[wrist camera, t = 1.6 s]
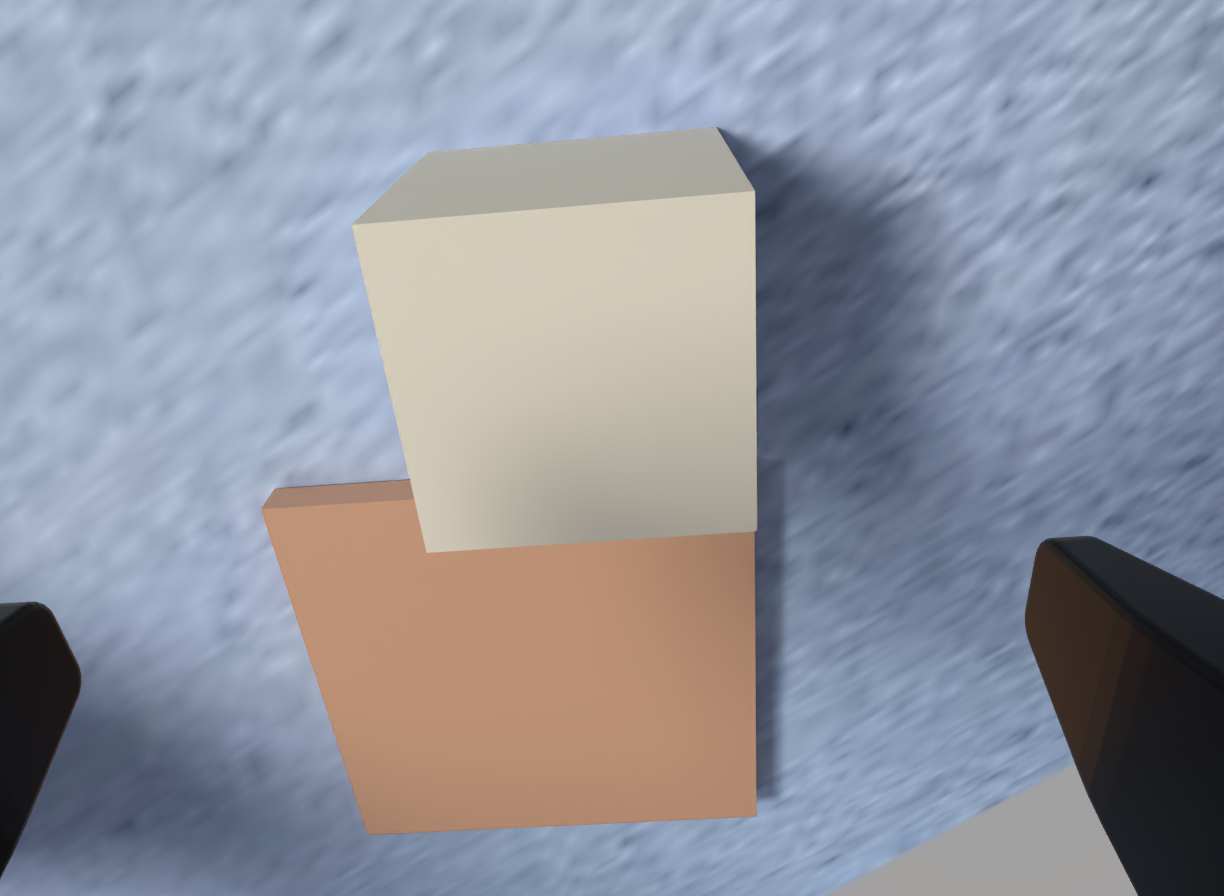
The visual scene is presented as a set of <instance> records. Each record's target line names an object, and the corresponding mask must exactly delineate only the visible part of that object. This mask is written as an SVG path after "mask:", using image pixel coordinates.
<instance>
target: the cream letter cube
mask: <svg viewBox="0 0 1224 896" xmlns="http://www.w3.org/2000/svg"><path fill="white" fill-rule="evenodd" d="M352 229H353V233H354V238H355V242H356V246H357V251H358V255H359V259H360V264H361V268H362V273H363V277H364V281H365V286H366V290H367V294H368V299H369V303H370V308H371V312H372V316H373V321H374V325H375V329H376V334H377V338H378V343H379V347H380V351H381V356H382V360H383V364H384V369H385V373H386V378H387V382H388V386H389V391H390V395H391V399H392V404H393V408H394V413H395V417H396V421H397V426H398V430H399V434H400V439H401V443H402V448H403V452H404V456H405V461H406V465H407V469H408V474H409V478H410V483H411V487H412V491H413V496H414V500H415V504H416V509H417V513H418V518H419V522H420V526H421V531H422V535H423V539H424V544H425V548H426V553H433V552H449V551H464V550H479V549H494V548H510V547H525V546H540V545H555V544H571V543H586V542H601V541H616V540H632V539H647V538H662V537H677V536H693V535H708V534H723V533H738V532H754V531H757V387H756V255H755V190H754V188H753V187H752V185H751V183H750V182H749V180H748V179H747V177H746V175H745V174H744V172H743V170H742V169H741V167H740V165H739V164H738V162H737V160H736V159H735V157H734V156H733V154H732V152H731V151H730V149H729V147H728V146H727V144H726V142H725V141H724V139H723V137H722V136H721V134H720V133H719V131H718V129H717V128H716V127H711V128H699V129H688V130H676V131H665V132H653V133H642V134H631V135H619V136H608V137H596V138H585V139H573V140H562V141H551V142H539V143H528V144H516V145H505V146H494V147H482V148H471V149H459V150H448V151H436V152H428V153H427V154H426V155H425V156H424V157H423V158H422V159H420V160H419V161H418V162H417V163H416V164H415V165H414V166H413V167H412V168H411V169H410V170H409V171H408V172H407V173H406V174H405V175H404V176H403V177H402V178H400V179H399V180H398V181H397V182H396V183H395V184H394V185H393V186H392V187H391V188H390V189H389V190H388V191H387V192H386V193H385V194H384V195H383V196H382V197H380V198H379V199H378V200H377V201H376V202H375V203H374V204H373V205H372V206H371V207H370V208H369V209H368V210H367V211H366V212H365V213H364V214H363V215H362V216H361V217H359V218H358V219H357V220H356V221H355V222H354V223H353V224H352Z"/></svg>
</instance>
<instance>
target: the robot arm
mask: <svg viewBox="0 0 1224 896" xmlns="http://www.w3.org/2000/svg"><path fill="white" fill-rule="evenodd" d="M1025 626H1026V632H1027V637H1028V640H1029V643H1030V646H1031V648H1032V651H1033V653H1034V656H1035V659H1036V661H1037V664H1038V667H1039V669H1040V672H1041V675H1042V677H1043V680H1044V683H1045V685H1046V688H1047V691H1048V693H1049V696H1050V699H1051V701H1052V704H1053V706H1054V709H1055V712H1056V714H1057V717H1058V720H1059V722H1060V725H1061V728H1062V730H1063V733H1064V736H1065V738H1066V741H1067V744H1068V746H1069V749H1070V752H1071V754H1072V757H1073V759H1074V762H1075V765H1076V767H1077V770H1078V772H1079V775H1080V777H1081V780H1082V782H1083V785H1084V787H1085V789H1086V792H1087V794H1088V797H1089V799H1090V801H1091V803H1092V805H1093V807H1094V809H1095V811H1096V813H1097V815H1098V818H1099V820H1100V822H1101V824H1102V825H1103V828H1104V830H1105V832H1106V834H1107V835H1108V837H1109V839H1110V841H1111V843H1112V845H1113V847H1114V849H1115V851H1116V853H1117V855H1118V857H1119V859H1120V861H1121V863H1122V865H1123V867H1124V869H1125V871H1126V873H1127V875H1128V877H1129V879H1130V881H1131V883H1132V884H1133V886H1134V888H1135V890H1136V892H1137V894H1138V896H1224V600H1223V599H1221V598H1219V597H1217V596H1215V595H1213V594H1211V593H1209V592H1207V591H1205V590H1203V589H1201V588H1199V587H1197V586H1195V585H1193V584H1190V583H1188V582H1186V581H1184V580H1182V579H1180V578H1178V577H1176V576H1174V575H1172V574H1170V573H1168V572H1166V571H1164V570H1162V569H1160V568H1158V567H1155V566H1153V565H1151V564H1149V563H1147V562H1145V561H1143V560H1141V559H1139V558H1137V557H1135V556H1133V555H1131V554H1129V553H1127V552H1125V551H1123V550H1121V549H1118V548H1116V547H1114V546H1112V545H1110V544H1108V543H1106V542H1104V541H1102V540H1100V539H1098V538H1095V537H1091V536H1076V537H1061V538H1049V539H1046V540H1045V541H1044V542H1042V543H1041V544H1040V546H1039V548H1038V549H1037V552H1036V556H1035V561H1034V567H1033V572H1032V578H1031V583H1030V589H1029V594H1028V599H1027V605H1026V611H1025ZM80 688H81V672H80V668H79V665H78V663H77V661H76V659H75V657H74V655H73V653H72V651H71V649H70V647H69V645H68V642H67V640H66V638H65V636H64V634H63V632H62V630H61V628H60V626H59V624H58V622H57V620H56V618H55V616H54V614H53V613H52V611H51V610H50V609H49V608H48V607H46V606H45V605H44V604H42V603H38V602H18V603H3V604H0V879H1V877H2V875H3V873H4V871H5V869H6V867H7V865H8V863H9V861H10V859H11V857H12V855H13V852H14V850H15V848H16V846H17V844H18V842H19V839H20V837H21V835H22V832H23V830H24V828H25V826H26V823H27V821H28V818H29V816H30V814H31V811H32V809H33V806H34V804H35V801H36V799H37V797H38V794H39V792H40V789H41V787H42V784H43V782H44V779H45V777H46V775H47V772H48V770H49V767H50V765H51V762H52V760H53V757H54V755H55V753H56V750H57V748H58V745H59V743H60V740H61V738H62V736H63V733H64V731H65V728H66V726H67V723H68V721H69V718H70V716H71V714H72V711H73V709H74V706H75V704H76V701H77V699H78V696H79V693H80Z"/></svg>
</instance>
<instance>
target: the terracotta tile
mask: <svg viewBox="0 0 1224 896" xmlns="http://www.w3.org/2000/svg"><path fill="white" fill-rule="evenodd" d="M261 511H262V514H263V517H264V520H265V523H266V526H267V529H268V532H269V536H270V539H271V542H272V545H273V548H274V551H275V554H276V557H277V560H278V563H279V566H280V569H281V572H282V575H283V578H284V581H285V584H286V587H287V590H288V594H289V597H290V600H291V603H292V606H293V609H294V612H295V615H296V618H297V621H298V624H299V627H300V630H301V633H302V636H303V639H304V642H305V645H306V648H307V651H308V655H309V658H310V661H311V664H312V667H313V670H314V673H315V676H316V679H317V682H318V685H319V688H320V691H321V694H322V697H323V700H324V703H325V706H326V709H327V712H328V716H329V719H330V722H331V725H332V728H333V731H334V734H335V737H336V740H337V743H338V746H339V749H340V752H341V755H342V758H343V761H344V764H345V767H346V770H347V773H348V777H349V780H350V783H351V786H352V789H353V792H354V795H355V798H356V801H357V804H358V807H359V810H360V813H361V816H362V819H363V822H364V825H365V828H366V831H367V834H368V835H376V834H397V833H418V832H440V831H461V830H482V829H503V828H524V827H545V826H567V825H588V824H609V823H630V822H651V821H673V820H694V819H715V818H736V817H756V660H755V531H754V532H738V533H723V534H708V535H693V536H677V537H662V538H647V539H632V540H616V541H601V542H586V543H571V544H555V545H540V546H525V547H510V548H494V549H479V550H464V551H449V552H433V553H426V548H425V544H424V539H423V535H422V531H421V526H420V522H419V518H418V513H417V509H416V504H415V500H414V496H413V491H412V487H411V483H410V480H399V481H384V482H370V483H355V484H340V485H325V486H310V487H295V488H280V489H274V491H273V492H272V494H271V495H270V497H269V498H268V500H267V501H266V503H265V504H264V506H263V507H262V509H261Z"/></svg>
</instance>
